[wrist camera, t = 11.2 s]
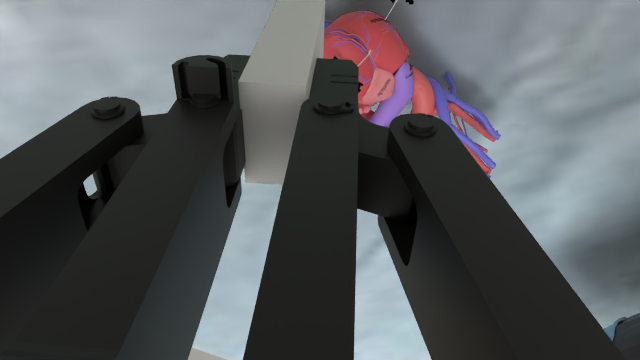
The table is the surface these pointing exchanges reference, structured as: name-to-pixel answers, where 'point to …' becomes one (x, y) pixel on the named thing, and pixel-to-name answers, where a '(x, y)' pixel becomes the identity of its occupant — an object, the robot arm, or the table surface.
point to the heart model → (398, 78)
